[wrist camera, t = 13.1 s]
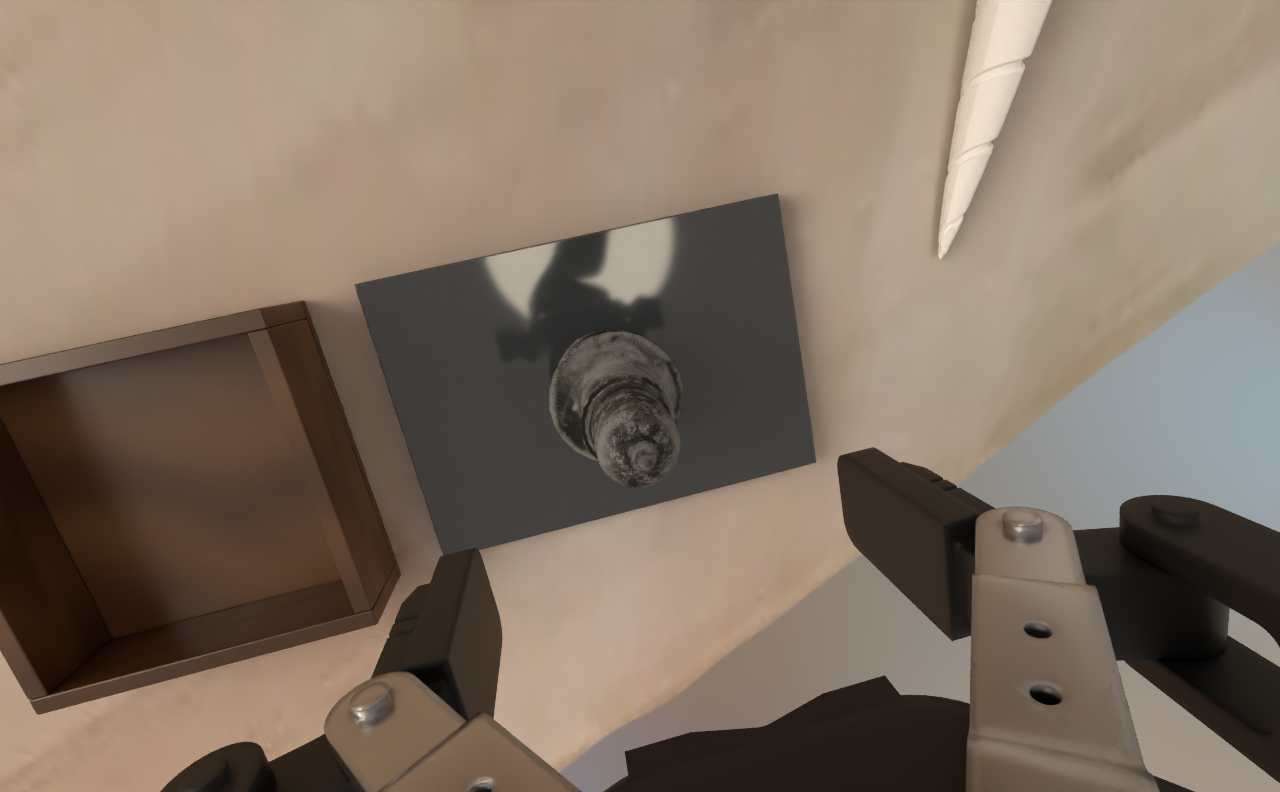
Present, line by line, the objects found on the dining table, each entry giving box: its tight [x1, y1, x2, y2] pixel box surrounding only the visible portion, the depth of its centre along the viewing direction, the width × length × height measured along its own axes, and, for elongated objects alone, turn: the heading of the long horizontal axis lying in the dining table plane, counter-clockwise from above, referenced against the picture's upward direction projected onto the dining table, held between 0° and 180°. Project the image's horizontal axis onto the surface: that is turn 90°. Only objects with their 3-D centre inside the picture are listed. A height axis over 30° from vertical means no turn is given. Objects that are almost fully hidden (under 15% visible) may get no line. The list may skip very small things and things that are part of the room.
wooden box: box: [0, 301, 401, 715], centre depth 27 cm, size 15×15×4 cm
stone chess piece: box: [549, 329, 683, 488], centre depth 24 cm, size 6×6×12 cm
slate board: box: [355, 194, 816, 556], centre depth 30 cm, size 14×20×1 cm
